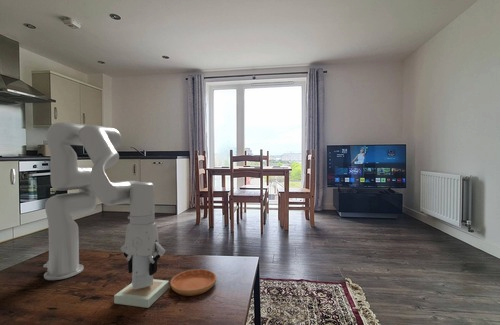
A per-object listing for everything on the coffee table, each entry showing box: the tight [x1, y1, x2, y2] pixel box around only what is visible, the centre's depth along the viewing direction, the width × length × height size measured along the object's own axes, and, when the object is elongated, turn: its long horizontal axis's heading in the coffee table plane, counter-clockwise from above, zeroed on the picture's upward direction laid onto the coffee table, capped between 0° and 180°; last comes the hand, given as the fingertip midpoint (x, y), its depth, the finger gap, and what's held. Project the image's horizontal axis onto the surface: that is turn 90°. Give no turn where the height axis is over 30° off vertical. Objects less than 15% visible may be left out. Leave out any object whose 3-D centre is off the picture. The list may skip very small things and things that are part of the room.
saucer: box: [169, 268, 217, 297], centre depth 88 cm, size 16×16×3 cm
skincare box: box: [131, 252, 154, 290], centre depth 82 cm, size 6×4×12 cm
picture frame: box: [113, 278, 170, 309], centre depth 82 cm, size 12×12×3 cm
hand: (142, 272), depth 82 cm, fingers closed on skincare box, 7 cm apart
